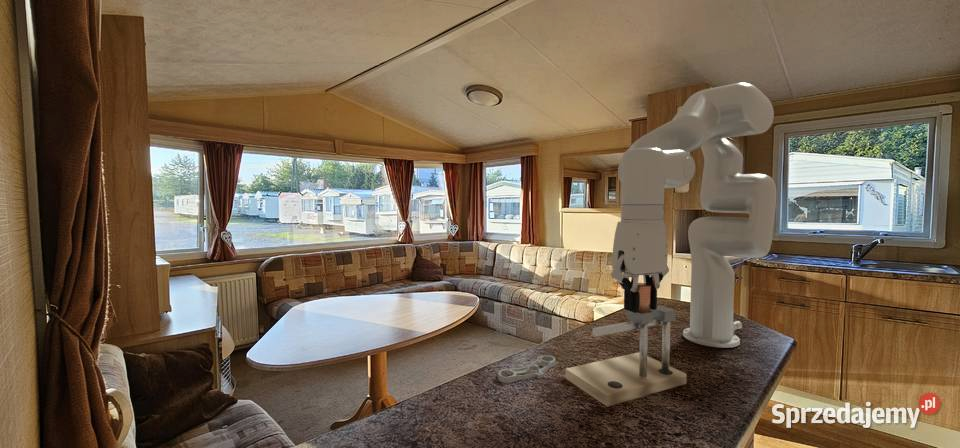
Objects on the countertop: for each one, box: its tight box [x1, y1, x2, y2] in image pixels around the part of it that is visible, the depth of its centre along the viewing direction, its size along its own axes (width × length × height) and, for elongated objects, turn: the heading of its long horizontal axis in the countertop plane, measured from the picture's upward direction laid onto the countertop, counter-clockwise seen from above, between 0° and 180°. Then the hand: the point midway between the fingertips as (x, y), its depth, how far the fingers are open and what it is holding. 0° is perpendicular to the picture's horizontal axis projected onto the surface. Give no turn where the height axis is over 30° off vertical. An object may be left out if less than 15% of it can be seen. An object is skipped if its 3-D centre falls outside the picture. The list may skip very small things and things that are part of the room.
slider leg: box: [626, 282, 653, 377], centre depth 75 cm, size 4×4×18 cm
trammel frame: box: [592, 305, 677, 373], centre depth 75 cm, size 18×4×12 cm, turn 114°
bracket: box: [497, 355, 556, 384], centre depth 82 cm, size 8×2×15 cm
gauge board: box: [564, 351, 687, 407], centre depth 78 cm, size 20×12×2 cm, turn 114°
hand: (640, 308), depth 75 cm, fingers open, 3 cm apart
